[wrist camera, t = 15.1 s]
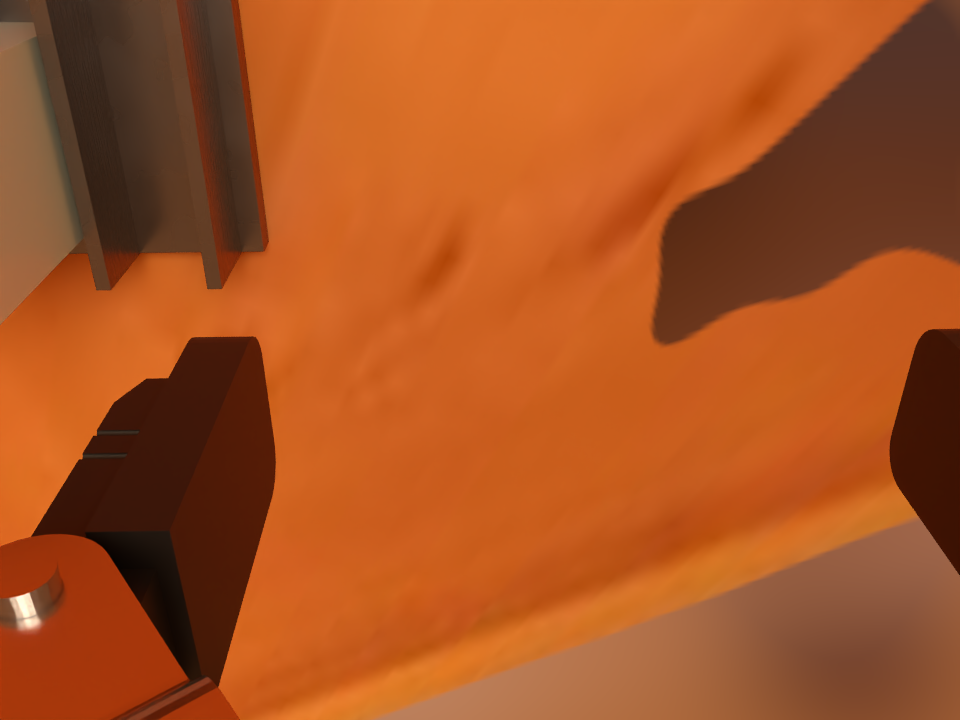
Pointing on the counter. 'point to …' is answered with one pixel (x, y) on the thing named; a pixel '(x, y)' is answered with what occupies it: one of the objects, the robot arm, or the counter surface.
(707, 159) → the counter surface
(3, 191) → the tall cream pillar
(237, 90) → the dish rack
